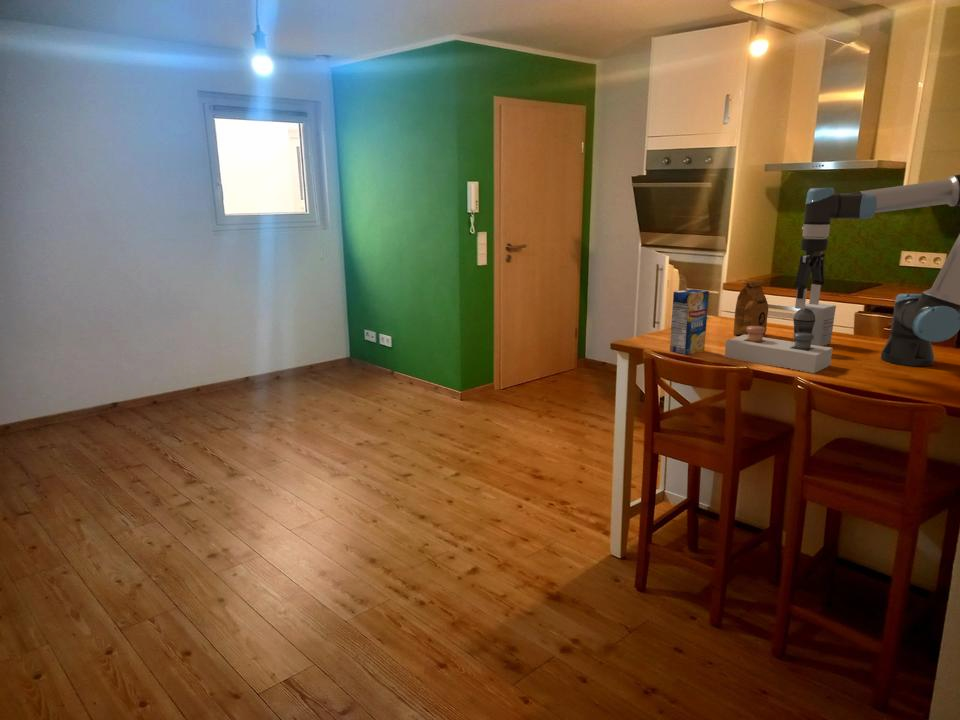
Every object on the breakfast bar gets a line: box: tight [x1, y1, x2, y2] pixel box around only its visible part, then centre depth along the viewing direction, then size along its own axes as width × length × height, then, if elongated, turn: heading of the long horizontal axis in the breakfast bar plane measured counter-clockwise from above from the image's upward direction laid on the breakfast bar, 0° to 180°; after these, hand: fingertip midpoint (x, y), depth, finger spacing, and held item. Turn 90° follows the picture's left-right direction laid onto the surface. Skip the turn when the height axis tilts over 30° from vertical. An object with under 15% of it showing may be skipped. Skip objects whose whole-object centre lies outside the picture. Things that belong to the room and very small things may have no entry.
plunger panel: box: [724, 334, 833, 374], centre depth 221 cm, size 30×14×6 cm, turn 43°
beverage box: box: [669, 288, 710, 356], centre depth 234 cm, size 7×11×22 cm, turn 124°
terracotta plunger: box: [746, 326, 766, 343], centre depth 226 cm, size 6×6×6 cm
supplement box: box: [805, 302, 837, 347], centre depth 245 cm, size 9×9×15 cm
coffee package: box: [733, 279, 769, 336], centre depth 259 cm, size 10×12×22 cm
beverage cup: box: [792, 309, 816, 342], centre depth 233 cm, size 7×7×20 cm
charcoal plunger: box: [792, 332, 814, 351], centre depth 214 cm, size 6×6×6 cm
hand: (806, 306), depth 211 cm, fingers open, 11 cm apart
